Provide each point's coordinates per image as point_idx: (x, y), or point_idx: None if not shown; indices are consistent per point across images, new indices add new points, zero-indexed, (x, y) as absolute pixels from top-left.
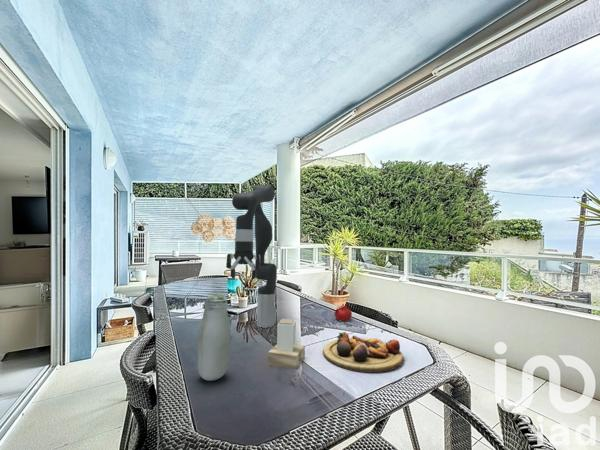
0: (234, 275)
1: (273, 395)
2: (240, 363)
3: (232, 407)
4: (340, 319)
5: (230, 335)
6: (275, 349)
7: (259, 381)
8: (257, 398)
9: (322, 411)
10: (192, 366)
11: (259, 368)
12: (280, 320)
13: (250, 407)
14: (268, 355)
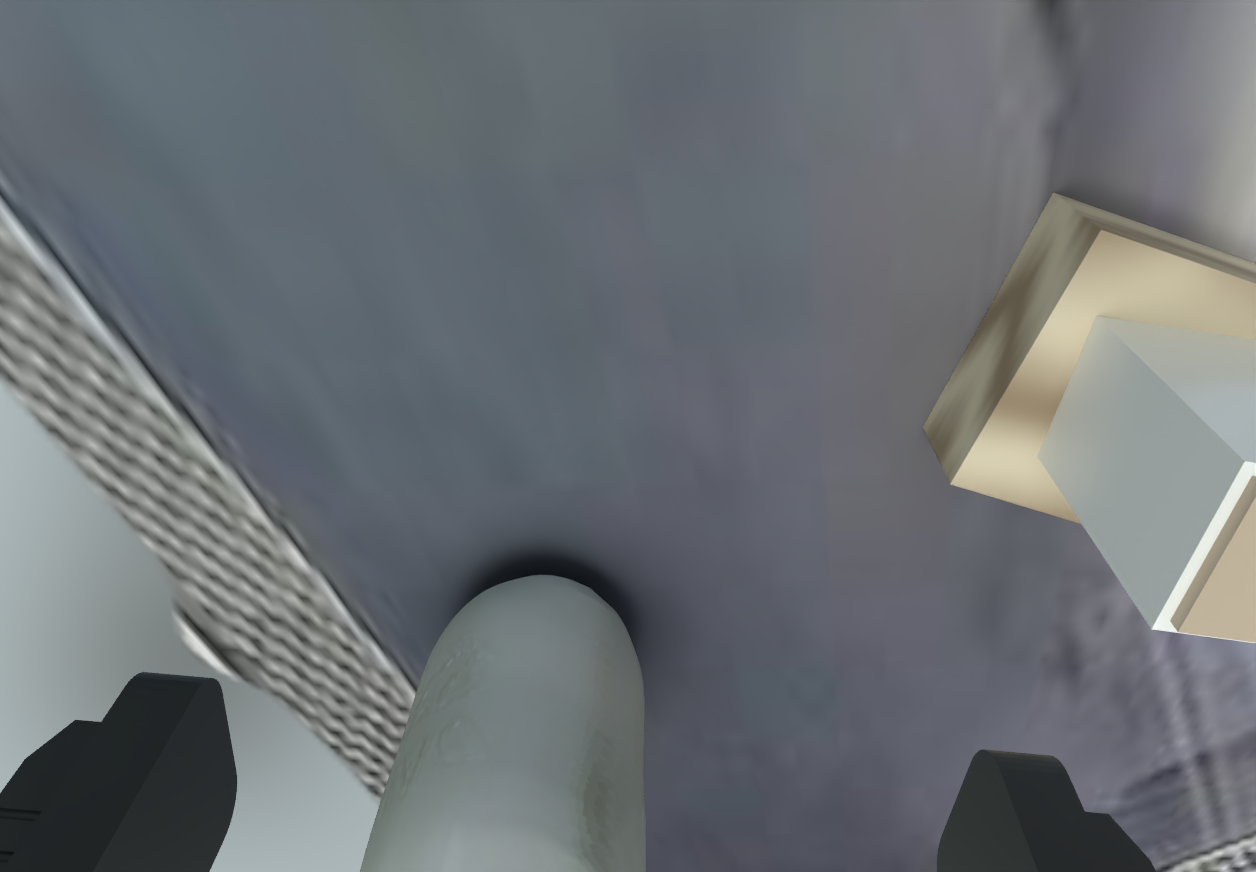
0: (176, 824)
1: (936, 760)
2: (687, 416)
3: (731, 833)
4: None
5: (645, 857)
6: (1027, 427)
7: (855, 645)
8: (848, 780)
9: (1160, 855)
10: (322, 474)
11: (852, 490)
12: (1223, 554)
13: (817, 833)
14: (945, 468)
